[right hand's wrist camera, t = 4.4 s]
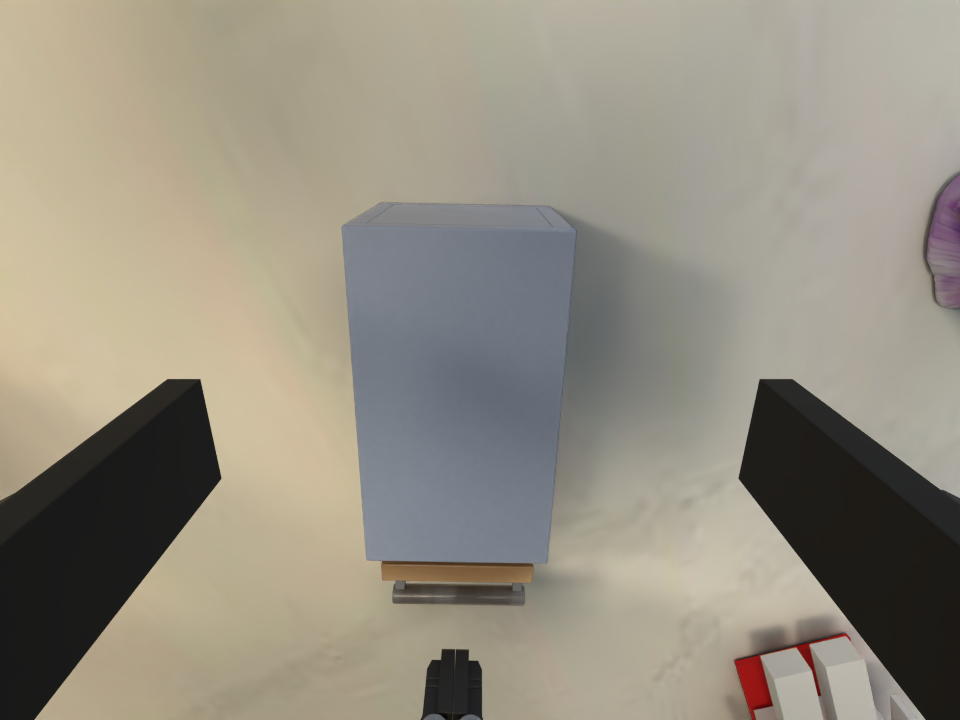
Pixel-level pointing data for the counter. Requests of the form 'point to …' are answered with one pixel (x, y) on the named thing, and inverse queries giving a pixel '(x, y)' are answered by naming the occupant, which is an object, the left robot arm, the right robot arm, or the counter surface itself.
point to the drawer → (458, 573)
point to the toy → (813, 684)
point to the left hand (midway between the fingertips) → (455, 660)
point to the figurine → (946, 246)
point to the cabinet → (458, 376)
